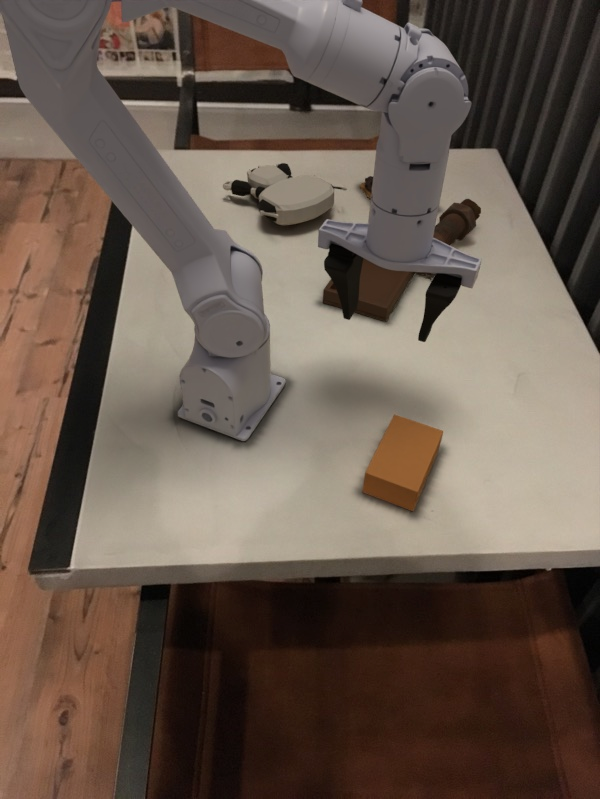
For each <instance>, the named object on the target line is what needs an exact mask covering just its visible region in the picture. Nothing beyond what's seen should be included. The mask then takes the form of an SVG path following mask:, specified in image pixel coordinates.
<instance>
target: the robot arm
mask: <svg viewBox="0 0 600 799" xmlns="http://www.w3.org/2000/svg"><path fill="white" fill-rule="evenodd" d="M114 2H115V3H116V2H120V12H121V13H120V14H121V22H122V23H129V22H132V21H135V20H137V19H140V18H143V17H145V16H148V15H151V14H153V13H156V12H158V11H161V10H165V9H166V8H171V9H172V8H173V9H176V10H179V11H181V12H184V13H187V14H189V15H192V16H194V17H196V18H199V19H202V20H204V21H207V22H209V23H212V24H215V25H217V26H220V27H221V28H225V29H227V30H229V31H231V32H235V33H237V34H240V35H243V36H244V37H248V38H250V39H252V40H255V41H257V42H260V43H263V44H265V45H268V46H271V47H273V48H276V49H278V50H280V51H281V52H283V55H284V57H285V60H286V64H287V66H288V69H289V71H290V73H291V75H292V76H293V77H295V78H297V79H299V80H301V81H303V82H306V83H308V84H310V85H313V86H315V87H317V88H319V89H322V90H324V91H327V92H328V93H331V94H333V95H335V96H338V97H340V98H342V99H345V100H347V101H349V102H352V103H353V104H356V105H358V106H361V107H363V108H364V109H367V110H370V111H375V112H381V116H380V123H379V124H380V125H379V134H378V139H377V142H376V148H375V158H374V167H373V176H372V177H373V185H372V194H371V198H370V203H369V212H368V221H367V222H351V221H350V222H349V221H348V222H347V221H339V220H334V219H330V218H326V219H325V220H324V222H323V223H322V224H321V225H320V227H319V228H318V236H317V247H318V248H320V249H323V250H328V251H327V256H326V257H325V258H324V260H323V269H324V271H325V272H326V273H327V275H328V276H329V278H330V280H332V281H333V283H334V285H335V288H336V290H337V293H338V296H339V299H340V303H341V307H342V308H341V311H342V317H343V319H344V320H347V321H350V320H351V319H352V318H353V316H354V314H355V311H356V309H357V305H358V300H359V284H360V274H361V268H362V263H363V258H365V259H366V260H368V261H370V262H372V263H374V264H376V265H378V266H380V267H382V268H385V269H389V270H395V271H410V272H415V273H419V272H427V273H432V274H433V275H434V276H433V278H432V279H431V281H430V283H429V285H428V287H427V289H426V291H425V296H424V298H425V300H424V309H423V311H424V312H423V317H422V322H421V325H420V329H419V332H418V338H417V341H419V342H422V343H426V342H427V339H428V337H429V335H430V334H431V331H432V328H433V325H434V324H435V322H436V321H437V319H438V318H439V316H441V315H442V313H443V312H444V311H445V310H446V309H447V308H448V307H449V306H450V305H451V304H452V303H453V301H454V300H455V299H456V297H457V295H458V293H459V291H460V289H461V286H462V287H464V288H468V289H473V288H474V286H475V284H476V282H477V279H478V276H479V273H480V270H481V265H482V260H483V259H482V258H481V257H477V256H474V255H471V254H468V253H466V252H463V251H461V250H459V249H457V248H455V247H454V246H452V245H450V246H449V245H447V244H445V243H443V242H441V241H439V240H437V239H435V238H433V235H434V230H435V226H436V225H437V219H438V213H439V208H440V202H441V198H442V192H443V186H444V182H445V176H446V171H447V166H448V160H449V155H450V147H451V142H452V135H453V134H454V133H455V132H456V131H457V130H458V129H459V128H460V127H461V126H462V125H463V123H464V122H465V120H466V118H467V117H468V115H469V113H470V110H471V107H472V104H473V103H472V101H471V100H470V99H469V85H468V80H467V77H466V75H465V73H464V71H463V69H462V68H461V67H460V65H459V63H458V62H457V61H456V59H455V57H454V56H453V54H452V53H451V51H450V49H449V48H448V46H447V45H446V44H445V43H444V42H443V41H442V40H440V38H438V37H437V36H435V35H434V34H433V32H432V31H431V30H430V29H429V28H422V27H421V28H420V27H419V26H417V25H415V24H412V23H411V22H407V23H406V24H405V25H404V27H402V26H400V25H398V24H396V23H394V22H392V21H391V20H388V19H386V18H384V17H383V16H381V15H378V14H376V13H374V12H372V11H370V10H368V9H366V8H364V7H363V3H364V2H363V0H0V15H1V17H2V19H3V23H4V26H5V31H6V36H7V39H8V44H9V47H10V52H11V56H12V61H13V65H14V69H15V74H16V78H17V83H18V85H19V89H20V91H22V93H23V95H24V96H25V99H26V100H27V101H28V102H29V103H30V104H31V105H32V107H33V108H34V109H35V110H36V112H37V113H38V114H39V116H41V117H42V119H43V120H44V121H45V123H47V125H48V126H49V127H50V128H51V130H52V131H53V132H54V133H55V134H56V135H57V137H58V138H59V139H60V141H61V142H62V143H63V144H64V145H65V147H66V148H67V149H68V150H69V151H70V152H71V154H72V155H73V156H74V157H75V158H76V159H77V161H78V162H79V163H80V164H81V166H82V167H83V168H84V169H85V171H86V172H87V173H88V174H89V175H90V177H91V178H92V179H93V180H94V181H95V183H96V184H97V185H98V186H99V187H100V189H101V190H102V191H103V192H104V194H105V195H106V196H107V197H108V198H109V199H110V200H111V202H112V203H113V204H114V205H115V206H116V208H117V209H118V210H119V212H121V214H122V215H123V217H124V218H125V219H126V220H127V222H129V223H130V225H131V226H132V227H133V228H134V230H135V231H136V232H137V234H138V235H140V236H141V238H142V239H143V240H144V242H146V244H147V245H148V247H150V249H151V250H152V251H153V252H154V254H155V255H156V256H157V257H158V258H159V259H160V261H161V262H162V263H163V265H164V266H165V267H166V268H167V270H169V272H170V273H171V275H172V279H173V280H174V284H175V287H176V290H177V294H178V296H179V299H180V302H181V305H182V308H183V310H184V312H185V313H186V314H187V315H188V317H189V318H190V319H191V320H192V323H193V326H194V327H193V329H194V342H193V347H192V350H191V353H190V355H189V358H188V359H187V361H186V362H185V364H184V365H183V367H182V368H181V370H180V372H179V385H180V393H181V399H182V405H181V406H180V408H179V409H178V410H177V417H178V418H181V419H182V420H185V421H188V422H190V423H193V424H196V425H199V426H201V427H204V428H206V429H210V430H212V431H215V432H217V433H220V434H223V435H225V436H228V437H230V438H233V439H236V440H239V441H242V442H245V441H248V440H249V438H250V437H251V435H252V434H253V432H255V430H256V428H257V426H258V425H259V424H260V422H261V420H262V419H263V418H264V416H265V415H266V414H267V412H268V410H269V409H270V408H271V405H272V404H273V403H274V401H275V400H276V398H277V397H278V396H279V394H280V393H281V391H282V390H283V388H284V387H285V386H286V382H287V381H286V379H285V378H284V377H282V376H279V375H276V374H274V373H271V323H270V320H269V318H268V316H267V315H266V314H265V306H264V304H265V303H264V293H263V273H264V270H263V266H262V263H261V261H260V259H259V258H258V257H257V256H256V255H255V253H253V252H252V251H251V250H249V249H247V248H245V247H244V246H241V245H240V244H238V243H237V242H236V241H234V239H233V238H232V237H231V235H230V234H229V233H228V231H226V229H225V230H224V229H219V228H218V229H217V228H214V226H213V225H212V224H211V222H210V221H209V220H208V217H206V215H205V213H204V212H203V211H202V209H201V208H200V207H199V205H198V204H197V202H196V201H195V200H194V199H193V197H192V196H191V194H190V193H189V192H188V191H187V189H186V187H185V186H184V185H183V184H182V182H181V181H180V180H179V178H178V177H177V175H176V174H175V173H174V172H173V170H172V168H171V167H170V165H169V164H168V163H167V161H166V160H165V159H164V157H163V156H162V155H161V153H160V152H159V150H157V148H156V147H155V145H154V143H153V142H152V141H151V139H150V138H149V137H148V136H147V134H146V133H145V131H144V130H143V129H142V127H141V125H140V124H139V123H138V122H137V120H136V119H135V118H134V115H132V113H131V112H130V111H129V109H128V108H127V106H126V105H125V103H124V102H123V100H122V99H121V98H120V96H118V94H117V93H116V91H115V90H114V89H113V87H112V86H111V84H110V83H109V82H108V81H107V79H106V78H105V76H104V75H103V73H102V72H101V71H100V70H99V68H98V57H99V49H100V43H101V37H102V29H103V25H104V23H105V21H106V19H107V16H108V14H109V12H110V10H111V6H112V3H114ZM432 274H431V275H432Z"/></svg>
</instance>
